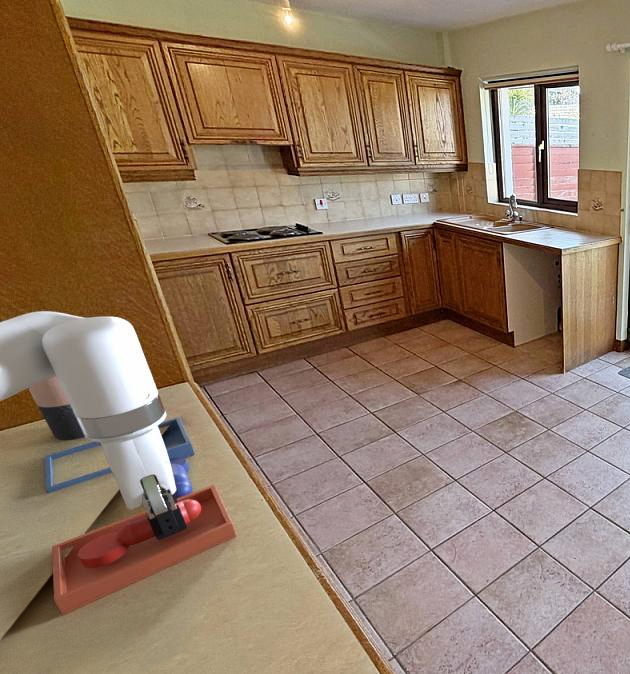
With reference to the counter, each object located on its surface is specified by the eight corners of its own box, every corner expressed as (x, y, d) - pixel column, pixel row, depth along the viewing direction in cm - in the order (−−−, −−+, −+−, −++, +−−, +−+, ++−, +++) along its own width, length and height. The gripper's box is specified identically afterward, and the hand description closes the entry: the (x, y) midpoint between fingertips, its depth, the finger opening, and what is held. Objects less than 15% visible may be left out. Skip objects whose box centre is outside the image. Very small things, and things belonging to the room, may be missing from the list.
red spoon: (200, 506, 70) (194, 489, 69) (207, 522, 68) (200, 504, 66) (81, 554, 62) (71, 535, 61) (83, 574, 59) (73, 555, 58)
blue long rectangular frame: (195, 454, 84) (190, 442, 83) (52, 502, 72) (45, 489, 71) (183, 427, 91) (179, 416, 90) (51, 468, 79) (44, 455, 78)
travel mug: (115, 420, 92) (74, 325, 84) (117, 437, 87) (73, 338, 79) (58, 435, 87) (8, 335, 79) (56, 454, 82) (3, 350, 74)
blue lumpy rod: (201, 497, 74) (195, 481, 73) (165, 512, 71) (158, 495, 70) (186, 461, 82) (180, 446, 81) (152, 473, 79) (146, 457, 78)
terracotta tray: (236, 536, 68) (232, 523, 67) (62, 615, 56) (53, 600, 55) (218, 496, 75) (214, 484, 74) (59, 560, 63) (52, 546, 62)
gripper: (76, 400, 61) (127, 509, 69) (84, 458, 51) (142, 578, 59) (153, 381, 67) (192, 484, 74) (173, 430, 56) (216, 544, 64)
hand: (169, 524), depth 66 cm, fingers closed on red spoon, 3 cm apart
